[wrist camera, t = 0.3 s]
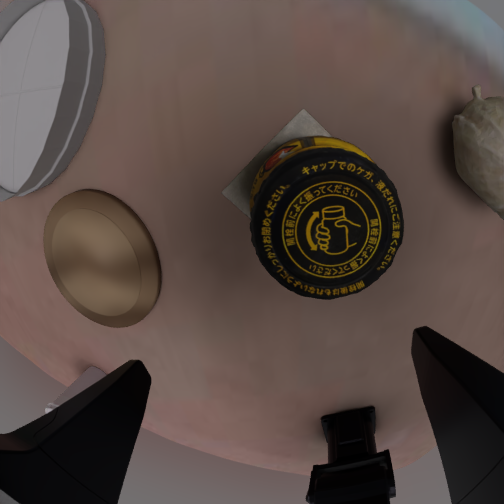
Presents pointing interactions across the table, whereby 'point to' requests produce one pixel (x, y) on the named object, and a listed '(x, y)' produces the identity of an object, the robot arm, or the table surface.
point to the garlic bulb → (481, 148)
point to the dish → (46, 88)
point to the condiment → (319, 211)
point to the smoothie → (77, 386)
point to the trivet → (102, 258)
